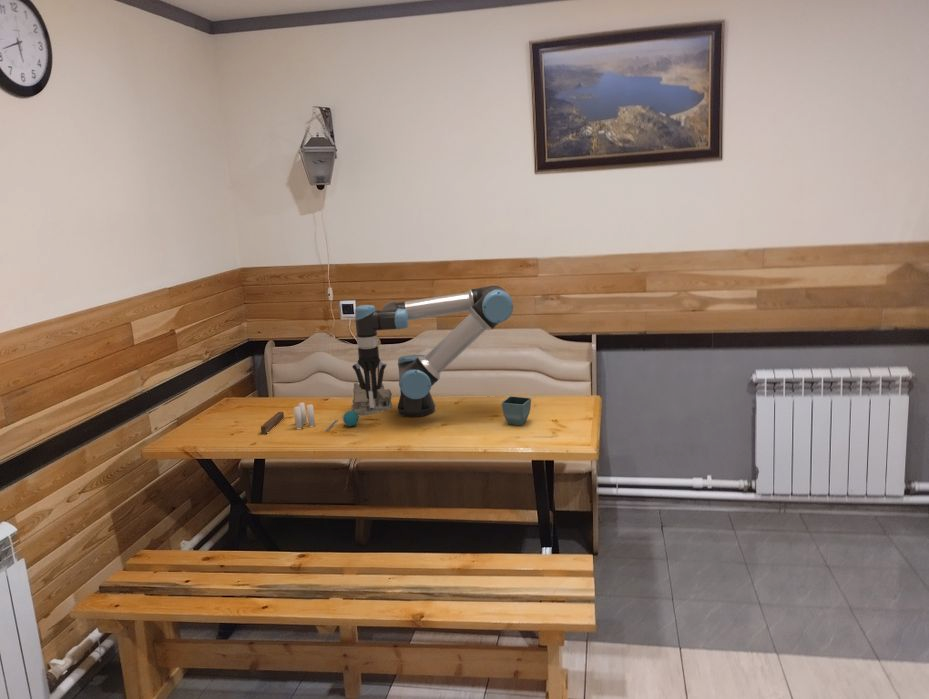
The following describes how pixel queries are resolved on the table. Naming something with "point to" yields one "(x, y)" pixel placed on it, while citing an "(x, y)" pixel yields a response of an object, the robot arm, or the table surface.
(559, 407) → the table surface
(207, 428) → the table surface
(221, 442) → the table surface
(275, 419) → the brown wooden bar
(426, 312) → the robot arm
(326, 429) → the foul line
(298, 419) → the pin
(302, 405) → the pin
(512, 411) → the flower pot
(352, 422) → the ball
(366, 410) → the grey castle model
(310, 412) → the pin front
